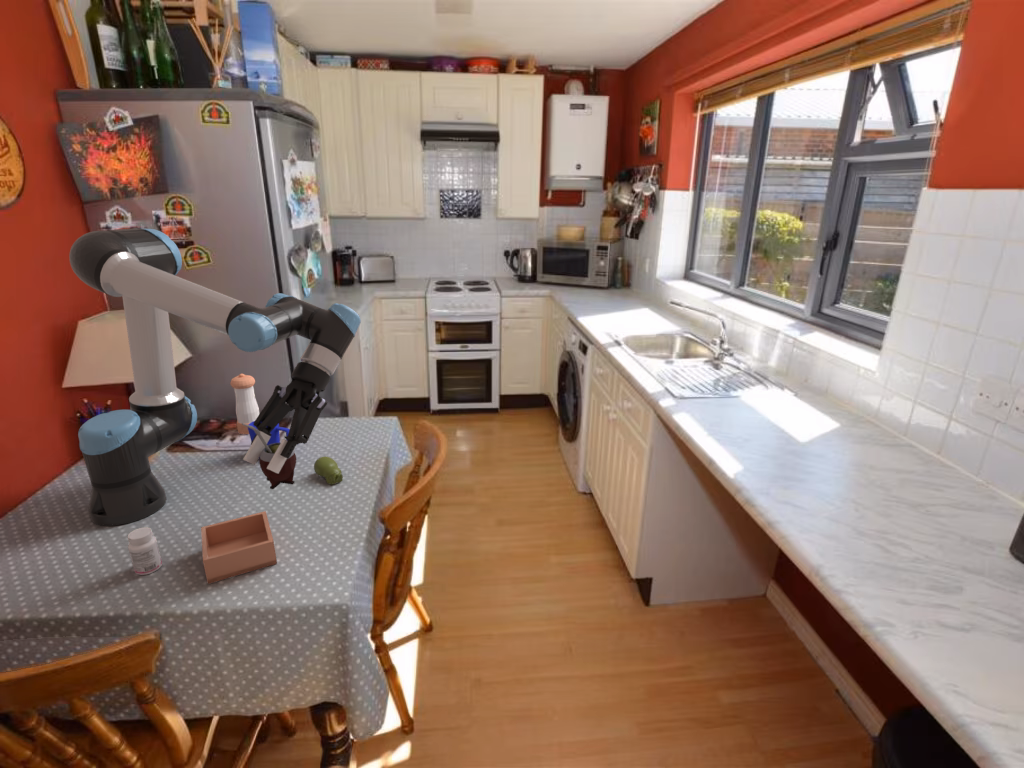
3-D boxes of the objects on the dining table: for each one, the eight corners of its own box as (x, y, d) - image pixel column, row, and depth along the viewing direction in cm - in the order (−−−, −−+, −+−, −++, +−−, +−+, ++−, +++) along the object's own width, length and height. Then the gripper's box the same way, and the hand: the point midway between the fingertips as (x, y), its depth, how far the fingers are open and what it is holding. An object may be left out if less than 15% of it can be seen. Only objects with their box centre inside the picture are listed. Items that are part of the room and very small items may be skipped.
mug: (284, 464, 150) (279, 432, 147) (246, 459, 152) (241, 428, 149) (300, 451, 158) (296, 420, 154) (264, 447, 160) (259, 417, 157)
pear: (328, 450, 146) (348, 468, 141) (328, 466, 149) (348, 484, 143) (309, 457, 142) (329, 475, 137) (310, 473, 145) (329, 491, 139)
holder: (207, 584, 103) (202, 560, 102) (205, 549, 114) (201, 527, 112) (277, 563, 110) (273, 541, 108) (269, 532, 120) (265, 511, 118)
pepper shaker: (233, 433, 169) (223, 376, 162) (247, 424, 176) (238, 369, 169) (253, 435, 168) (244, 378, 161) (267, 426, 174) (259, 371, 168)
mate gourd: (304, 475, 115) (298, 412, 110) (283, 494, 108) (274, 428, 103) (274, 470, 116) (266, 408, 111) (250, 489, 109) (240, 423, 104)
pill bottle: (143, 560, 110) (134, 526, 107) (167, 559, 110) (158, 525, 107) (129, 576, 105) (119, 540, 102) (154, 575, 106) (145, 539, 103)
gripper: (358, 385, 114) (306, 485, 106) (295, 369, 122) (242, 461, 114) (338, 368, 108) (280, 472, 100) (273, 353, 116) (215, 448, 108)
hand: (260, 466), depth 107 cm, fingers closed on mate gourd, 6 cm apart
